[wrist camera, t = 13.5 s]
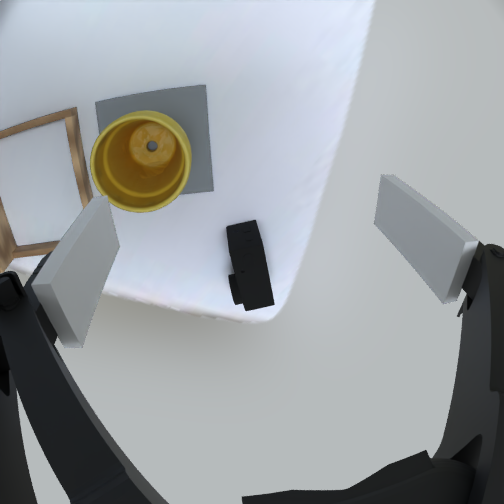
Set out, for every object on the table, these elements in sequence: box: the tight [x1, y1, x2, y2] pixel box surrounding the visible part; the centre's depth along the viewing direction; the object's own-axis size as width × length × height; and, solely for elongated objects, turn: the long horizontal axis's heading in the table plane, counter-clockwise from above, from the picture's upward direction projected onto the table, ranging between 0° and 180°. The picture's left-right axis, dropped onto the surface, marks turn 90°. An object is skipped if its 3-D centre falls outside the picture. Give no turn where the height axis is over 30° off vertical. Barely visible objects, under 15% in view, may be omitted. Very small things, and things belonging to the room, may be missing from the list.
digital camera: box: [226, 220, 275, 311], centre depth 44 cm, size 10×5×7 cm, turn 11°
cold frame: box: [0, 107, 93, 273], centre depth 29 cm, size 20×19×18 cm
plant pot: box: [90, 110, 192, 213], centre depth 32 cm, size 10×10×10 cm
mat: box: [95, 85, 213, 195], centre depth 37 cm, size 14×14×1 cm
